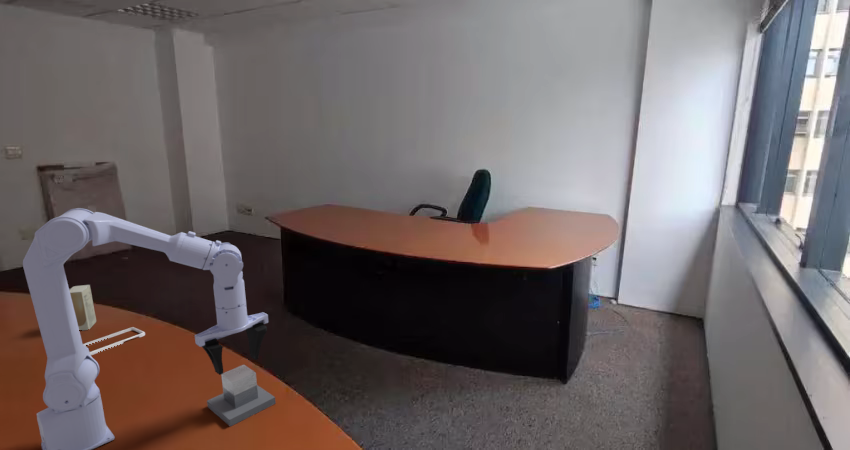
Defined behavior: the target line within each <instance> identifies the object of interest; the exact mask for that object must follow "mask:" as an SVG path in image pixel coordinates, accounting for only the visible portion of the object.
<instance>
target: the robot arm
mask: <svg viewBox="0 0 850 450" xmlns="http://www.w3.org/2000/svg"><path fill="white" fill-rule="evenodd" d="M196 235H197V233H196V232H194V231H191V230H190V231H189V230H188V232H187V233H185V232H183V231H181V232H178V233H176V234H174V235H173V234H172V235H170V234H167V233H164V232H161V231H158V230H155V229H152V228H149V227H146V226H144V225H143V226H142V225H139V224H137V223H135V222H131V221H128V220H125V219H122V218H119V217H117V216H114V215H110V214H107V213H106V212H105V213H104V212H100V211H95V212H93V211H91V210H89V209H86V208H83V207H82V208H81V207H77V208H71V209H69V210H66V211H65V212H64V213H63V214H61V215H59V216H57V217H54V218H51V219H49V221H47V222H46V223H44V224H43V225H42V226H41V227H39V229H37V230H36V231H35V232H34V237H33V240H32V242H31V244H30V246H29V248H28V250H27V252H26V253H25V256H24V258H23V260H22V267H23V270H24V275H25V279H26V282H27V287H28V289H29V290H28V291H29V294H30V297H31V301H32V304H33V308H34V312H35V316H36V321H37V323H38V327H39V331H40V336H41V339H42V342H43V346H44V351H45V354H46V357H47V359H46V367H45V372H44V380H45V388H44V389H43V393H42V400H43V402H44V404H45V405H46V406H47V407H46V408H45V409H43V410H41V411H39V412H36V421H37V424H38V425H37V426H38V428H39V429H38V430H39V435H40V437H41V438H40V440H41V442H40V444H41V450H94V449H96V448H98V447H100V446H102V445H104V444H107V443H109V442H111V441H113V440H115V435H114V434H113V432H112V431H111V429H110V428H109V427H108V425H107V423H106V418H105V413H104V409H103V408H104V406H103V401H102V397H101V396H102V395H101V392H100V388H99V387H98V386H97V384H96V382H95V380H96V379H97V377H98V376H99V374H100V364H99V363H98V361H97V360H96V359H95V358H93V357H92V355H90V352H91V351H90V350H89V349H90V348H89V347H88V346H84V345H83V344H84V343H83V340H82V335H81V332H80V331H79V327H78V323H77V319H76V315H75V311H74V307H73V303H72V299H71V295H70V291H69V290H70V288H69V284H68V283H69V282H68V280H67V275H66V270H65V267H64V265H65V263H66V261H68V260H69V259H70V257H72V256H73V255H74V254H75V253H77V252H79V251H80V250H83V248H85V246H86V245H87V244H88V243H89V242H91V241H92V247H96V246H97V247H98V246H100V245H104V244H105V245H106V244H109V243H112V242H119V243H123V244H128V245H131V246H136V247H141V248H145V249H149V250H152V251H153V250H154V251H158V252H160V253H161V252H162V253H164V254H165V255H166V256H167V258H168V260H169V262H174V263H178V264H180V265H184V266H188V267H192V268H196V269H198V270H203V271H209V272H210V273H211V274H212V275H213V285H212V286H213V295H214V305H215V314H216V324H215V325H214V326H211V327H209V328H208V329H205V330H204V331H202V332H199V333H197V334H194V340H195V345H197V346H198V347H200V348H202V349H203V350H204V352H205V353H206V354H207V356H208V357H209V359H210V362H211V364H212V366H213V368H214V372H215V373H216V374H218V375H221V374H223V373H224V365H223V349H224V346H223V345H221V344H220V341H218V340H220V339H222V338H225V337H228V336H231V335H234V334H237V333H238V334H239V333H241V332H243V331H245V332H246V335H247V341H248V350H249V351H248V352H249V356H250V358H252V359H253V360H255V361H256V360H257V361H258V359H259V357H260V350H261V345H262V343H263V339H264V338H265V335H266V333H267V331H268V327H267V326H266V324H268V323H269V314H267V313H265V312H263V311H262V312H259V313H255V314H250V315H248V309H247V299H246V290H245V289H246V288H245V286H246V285H245V280H244V277H243V276H244V274H243V273H244V272H243V268H244V262H243V259H242V252H241V250H239V248H238V247H237V246H236V245H233V244H231V243H230V242H222V241H221V240H218V239H217V240H215V241H212V240H208V239H205V238H202V237H200V236H196Z"/></svg>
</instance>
